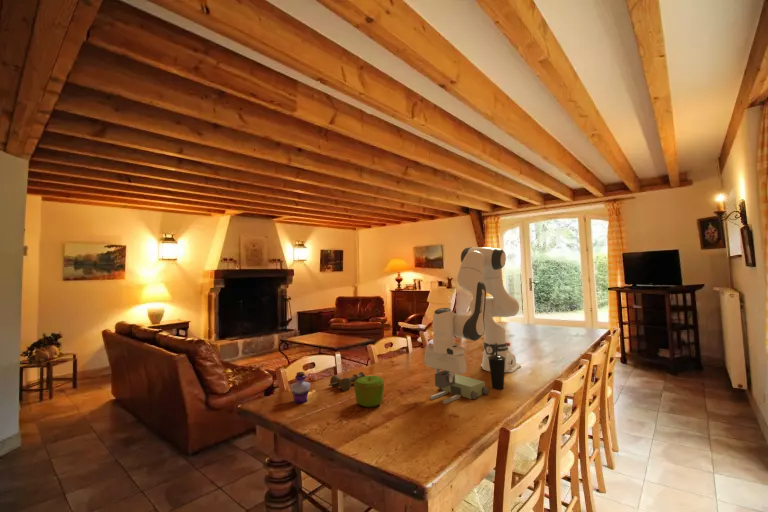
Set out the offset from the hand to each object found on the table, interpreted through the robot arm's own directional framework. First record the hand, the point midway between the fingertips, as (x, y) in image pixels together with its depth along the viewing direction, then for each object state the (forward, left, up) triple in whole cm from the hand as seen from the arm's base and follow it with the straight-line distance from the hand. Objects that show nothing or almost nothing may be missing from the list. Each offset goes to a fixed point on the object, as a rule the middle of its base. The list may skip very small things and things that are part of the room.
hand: (444, 380), depth 145 cm
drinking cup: (-27, +8, -8) cm, 29 cm away
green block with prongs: (-6, 0, -7) cm, 10 cm away
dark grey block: (0, 0, -2) cm, 2 cm away
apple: (+27, -17, -8) cm, 33 cm away
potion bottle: (+46, -40, -8) cm, 61 cm away
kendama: (+21, -43, -8) cm, 48 cm away
